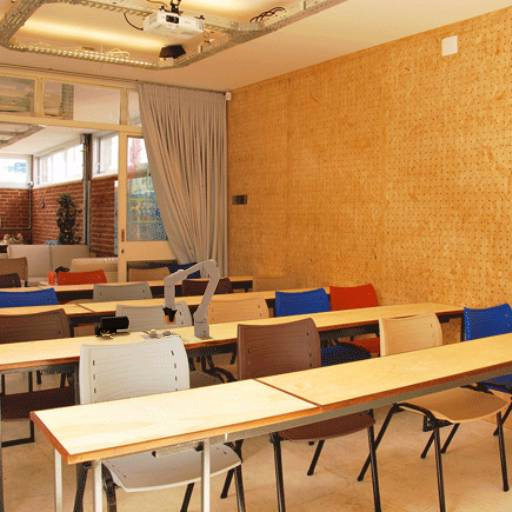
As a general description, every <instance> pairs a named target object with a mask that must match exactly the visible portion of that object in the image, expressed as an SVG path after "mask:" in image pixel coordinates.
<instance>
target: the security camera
mask: <svg viewBox="0 0 512 512" xmlns="http://www.w3.org/2000/svg"><path fill="white" fill-rule="evenodd" d="M129 326H130V319H129V317H128V316H127V315H121V316H120V315H119V316H118V315H117V316H106V317H100V319H99V327H98V328H97V329H96V330H95V335H96V336H97V337H103V334H107V333H108V332H109V334H108V335H109V336H111V334H117V333H118V331H119V330H128V328H129Z"/></svg>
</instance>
